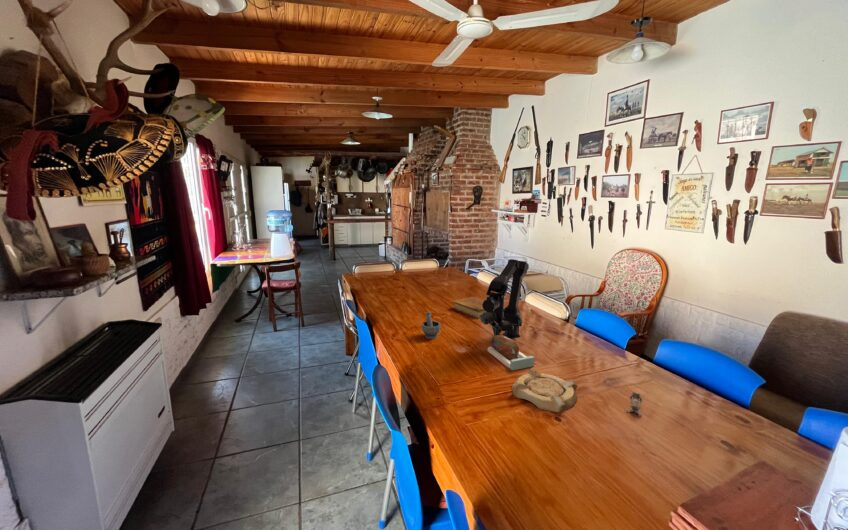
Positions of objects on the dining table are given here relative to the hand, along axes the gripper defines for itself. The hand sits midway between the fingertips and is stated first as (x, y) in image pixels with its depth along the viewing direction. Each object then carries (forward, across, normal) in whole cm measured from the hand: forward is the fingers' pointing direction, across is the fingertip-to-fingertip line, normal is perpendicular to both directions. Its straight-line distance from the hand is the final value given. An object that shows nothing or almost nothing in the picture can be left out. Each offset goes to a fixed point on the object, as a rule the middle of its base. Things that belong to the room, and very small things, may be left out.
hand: (496, 337), depth 164 cm
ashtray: (+5, +40, -4) cm, 40 cm away
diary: (+6, -52, +18) cm, 55 cm away
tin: (+5, +8, 0) cm, 9 cm away
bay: (+5, +11, 0) cm, 12 cm away
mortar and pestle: (+6, -24, -24) cm, 34 cm away
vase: (+5, +59, +18) cm, 62 cm away
